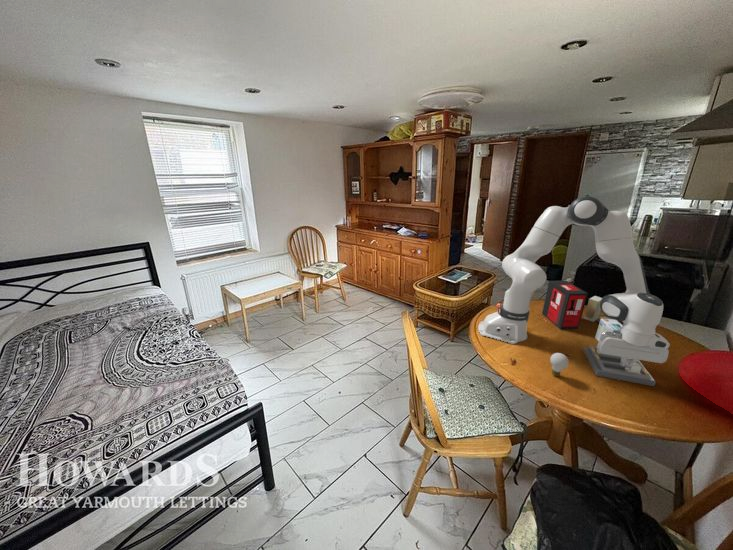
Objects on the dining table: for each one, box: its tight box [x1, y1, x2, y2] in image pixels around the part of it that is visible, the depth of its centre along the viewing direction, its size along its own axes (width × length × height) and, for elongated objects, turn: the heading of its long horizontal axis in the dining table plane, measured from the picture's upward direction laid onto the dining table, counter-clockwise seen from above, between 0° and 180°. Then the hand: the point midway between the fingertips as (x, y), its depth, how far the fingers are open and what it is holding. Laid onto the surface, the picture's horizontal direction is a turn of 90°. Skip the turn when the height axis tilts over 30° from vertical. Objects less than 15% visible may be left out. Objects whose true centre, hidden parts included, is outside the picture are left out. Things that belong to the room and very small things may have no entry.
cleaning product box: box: [541, 280, 589, 331], centre depth 149 cm, size 16×9×20 cm, turn 179°
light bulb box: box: [594, 318, 623, 342], centre depth 130 cm, size 11×7×11 cm, turn 168°
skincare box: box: [583, 295, 603, 323], centre depth 151 cm, size 6×4×12 cm
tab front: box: [625, 363, 642, 374], centre depth 111 cm, size 4×3×4 cm
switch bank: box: [583, 345, 657, 387], centre depth 117 cm, size 18×17×3 cm
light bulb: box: [549, 352, 569, 377], centre depth 112 cm, size 6×6×10 cm
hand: (625, 366), depth 112 cm, fingers closed
